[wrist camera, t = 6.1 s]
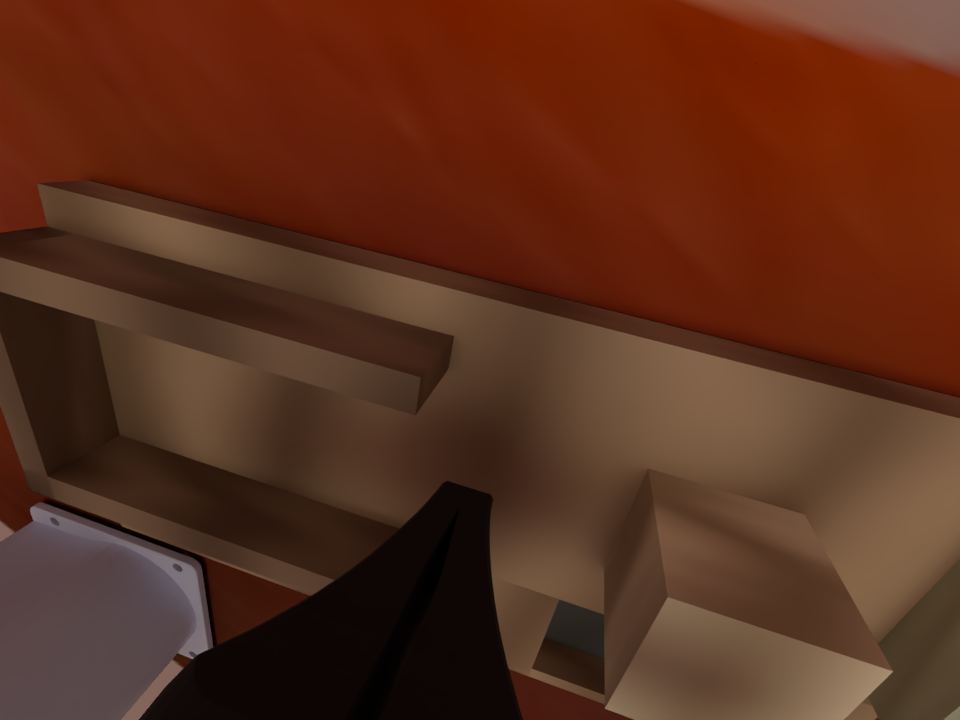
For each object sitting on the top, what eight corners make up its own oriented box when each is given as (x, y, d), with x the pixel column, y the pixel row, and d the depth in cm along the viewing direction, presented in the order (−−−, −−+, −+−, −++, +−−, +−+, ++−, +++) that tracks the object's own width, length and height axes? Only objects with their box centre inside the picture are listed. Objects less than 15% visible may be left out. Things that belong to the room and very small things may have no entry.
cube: (603, 568, 14) (604, 708, 10) (648, 468, 12) (667, 596, 9) (737, 611, 13) (786, 775, 10) (804, 514, 12) (893, 672, 8)
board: (152, 502, 21) (68, 567, 18) (88, 180, 15) (-61, 188, 11) (793, 730, 17) (839, 868, 14) (1081, 427, 11) (1292, 548, 7)
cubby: (102, 448, 18) (30, 490, 15) (47, 226, 14) (-59, 240, 12) (417, 555, 16) (386, 621, 14) (453, 336, 12) (421, 377, 10)
